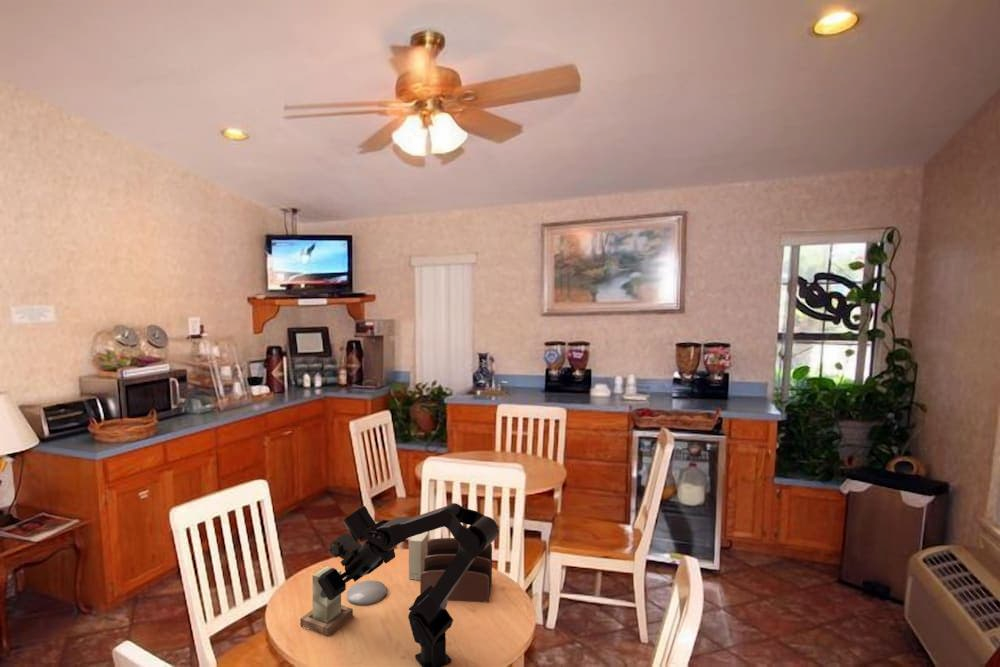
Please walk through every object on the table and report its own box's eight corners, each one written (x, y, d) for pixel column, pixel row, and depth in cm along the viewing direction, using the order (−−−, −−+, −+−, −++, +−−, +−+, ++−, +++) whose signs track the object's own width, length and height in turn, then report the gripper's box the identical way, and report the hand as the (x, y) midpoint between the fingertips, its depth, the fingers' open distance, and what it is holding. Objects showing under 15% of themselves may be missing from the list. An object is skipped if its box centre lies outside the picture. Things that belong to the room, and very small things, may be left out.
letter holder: (427, 580, 149) (427, 535, 148) (492, 583, 148) (492, 538, 147) (419, 599, 139) (420, 551, 139) (489, 603, 138) (489, 554, 137)
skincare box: (421, 581, 148) (421, 541, 148) (407, 579, 149) (408, 540, 149) (428, 570, 155) (428, 532, 154) (415, 568, 155) (415, 531, 155)
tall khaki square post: (341, 618, 130) (341, 570, 129) (327, 629, 125) (326, 579, 125) (326, 613, 132) (326, 566, 132) (312, 623, 127) (312, 575, 127)
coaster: (392, 596, 140) (392, 593, 140) (354, 610, 133) (354, 606, 133) (377, 579, 149) (377, 576, 149) (341, 591, 142) (341, 588, 142)
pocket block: (352, 616, 131) (352, 608, 131) (327, 636, 123) (327, 628, 122) (326, 606, 135) (326, 599, 135) (300, 625, 126) (300, 618, 126)
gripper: (375, 514, 133) (343, 545, 138) (323, 543, 116) (289, 577, 121) (398, 549, 130) (365, 579, 135) (349, 584, 113) (313, 617, 118)
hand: (334, 586), depth 127 cm, fingers open, 9 cm apart
